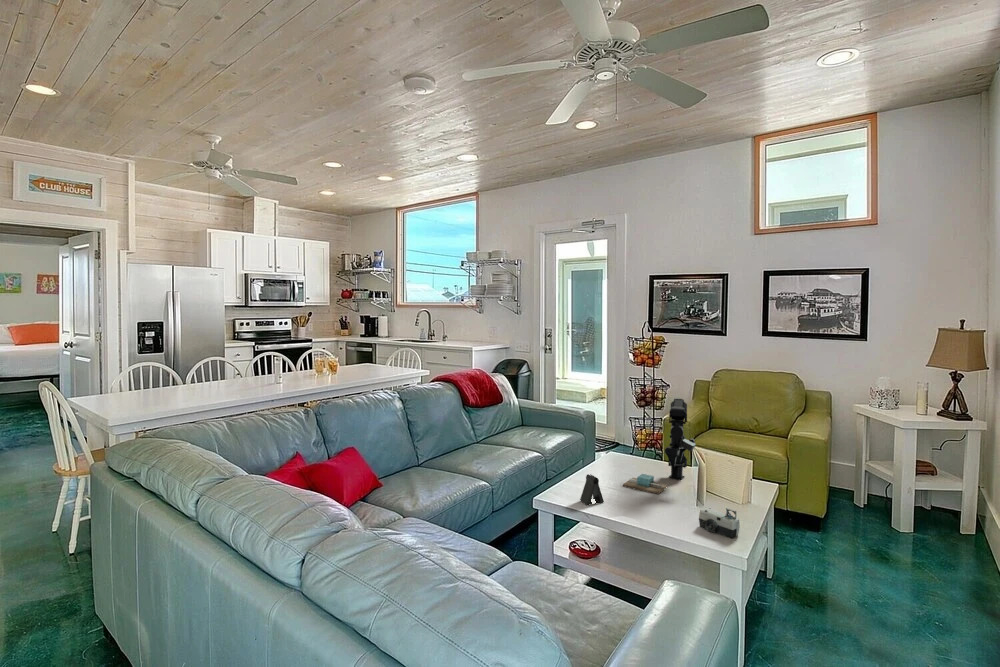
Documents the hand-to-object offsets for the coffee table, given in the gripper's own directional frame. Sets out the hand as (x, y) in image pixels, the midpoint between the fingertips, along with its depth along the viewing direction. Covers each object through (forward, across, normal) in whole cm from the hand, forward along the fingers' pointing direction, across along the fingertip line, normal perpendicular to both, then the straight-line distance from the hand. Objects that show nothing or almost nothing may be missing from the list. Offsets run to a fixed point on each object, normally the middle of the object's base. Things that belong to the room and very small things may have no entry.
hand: (676, 464), depth 253 cm
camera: (+11, -41, -30) cm, 52 cm away
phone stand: (+11, -44, +24) cm, 51 cm away
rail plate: (+11, -10, +12) cm, 19 cm away
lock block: (+10, -9, +12) cm, 18 cm away
